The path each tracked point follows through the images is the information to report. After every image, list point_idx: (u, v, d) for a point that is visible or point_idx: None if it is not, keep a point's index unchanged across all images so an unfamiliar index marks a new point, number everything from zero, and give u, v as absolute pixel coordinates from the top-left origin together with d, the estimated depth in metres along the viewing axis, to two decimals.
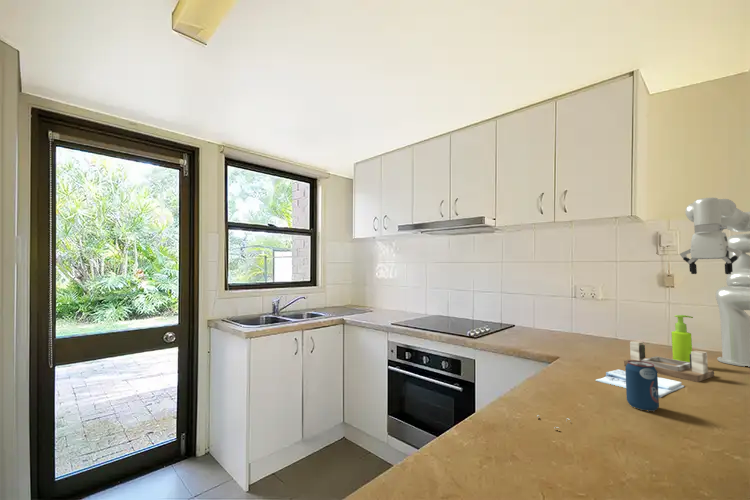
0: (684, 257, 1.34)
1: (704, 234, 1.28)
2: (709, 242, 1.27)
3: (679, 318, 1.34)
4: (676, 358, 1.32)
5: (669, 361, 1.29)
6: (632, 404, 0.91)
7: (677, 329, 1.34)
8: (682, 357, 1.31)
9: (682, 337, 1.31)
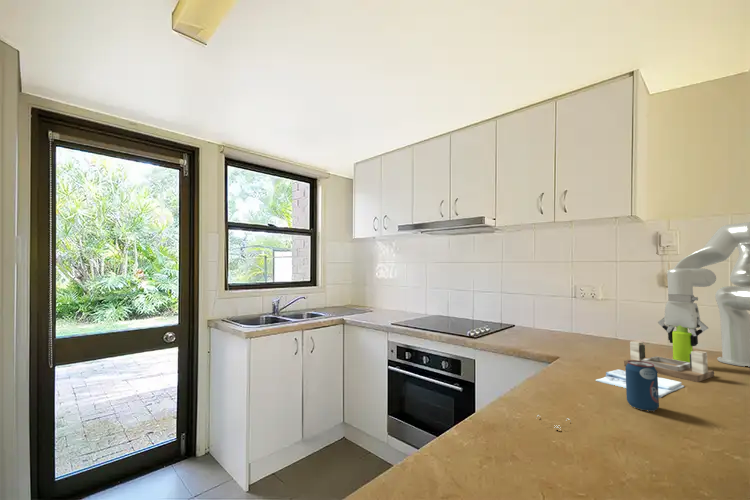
0: (663, 325, 1.38)
1: (677, 303, 1.33)
2: (681, 312, 1.32)
3: None
4: (677, 358, 1.32)
5: (669, 361, 1.29)
6: (632, 404, 0.91)
7: (678, 329, 1.33)
8: (682, 357, 1.31)
9: (682, 337, 1.31)
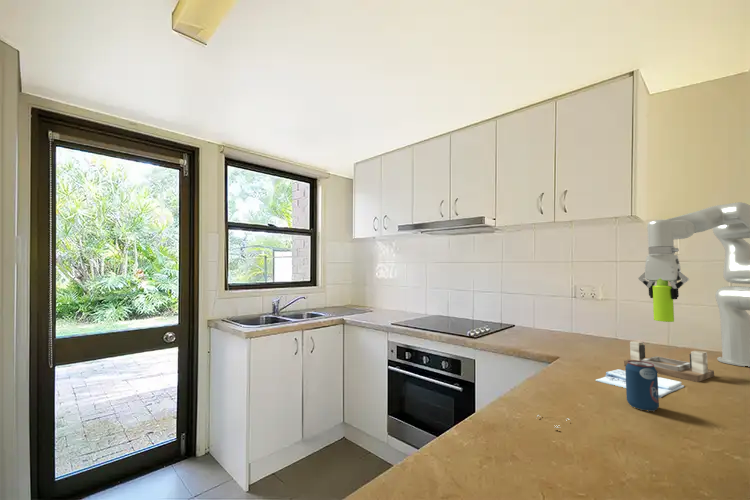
0: (644, 280, 1.33)
1: (657, 256, 1.28)
2: (661, 265, 1.27)
3: None
4: (657, 312, 1.26)
5: (669, 361, 1.29)
6: (632, 404, 0.91)
7: (658, 283, 1.27)
8: (662, 312, 1.25)
9: (663, 291, 1.25)
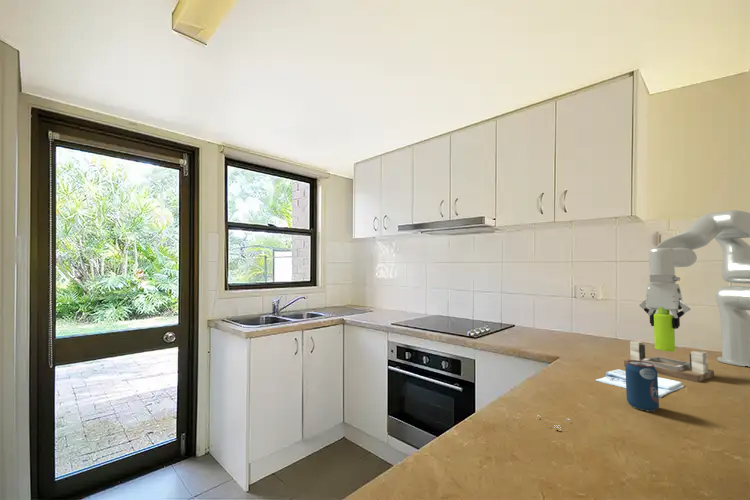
0: (645, 308, 1.32)
1: (658, 284, 1.27)
2: (662, 293, 1.26)
3: None
4: (658, 341, 1.26)
5: (669, 361, 1.29)
6: (632, 404, 0.91)
7: (659, 311, 1.27)
8: (663, 341, 1.24)
9: (664, 320, 1.25)
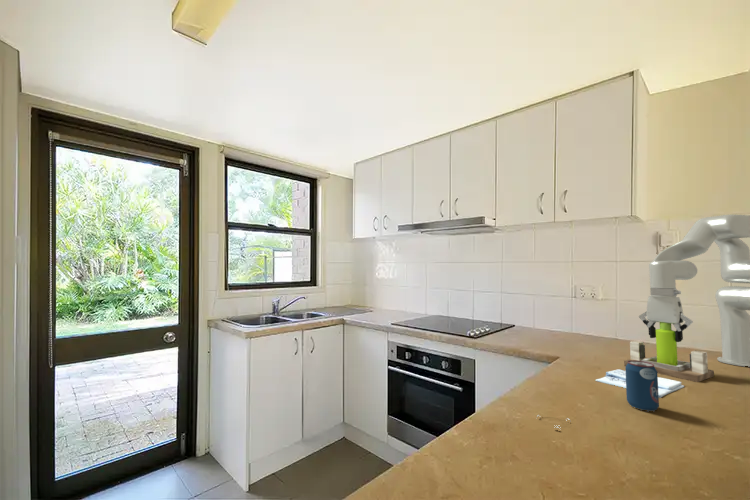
0: (644, 320, 1.32)
1: (659, 297, 1.27)
2: (663, 307, 1.26)
3: None
4: (660, 357, 1.25)
5: None
6: (632, 404, 0.91)
7: (661, 327, 1.26)
8: (666, 357, 1.24)
9: (666, 336, 1.24)
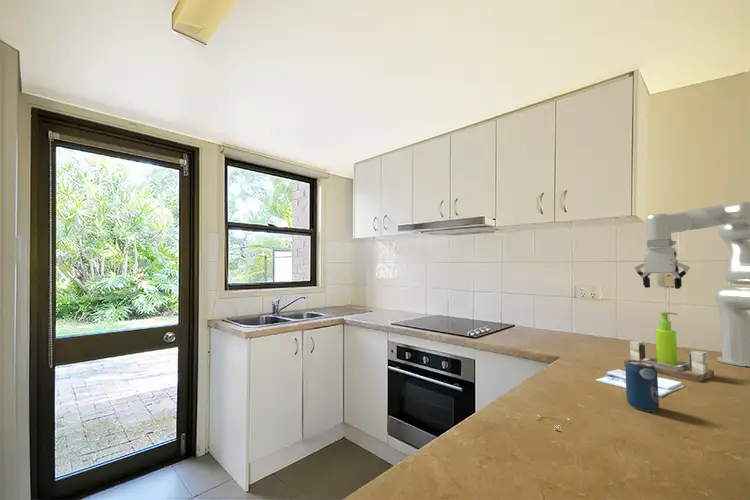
0: (638, 271, 1.38)
1: (655, 249, 1.31)
2: (659, 257, 1.30)
3: (663, 315, 1.27)
4: (660, 357, 1.25)
5: None
6: (632, 404, 0.91)
7: (661, 327, 1.26)
8: (666, 357, 1.24)
9: (666, 336, 1.24)
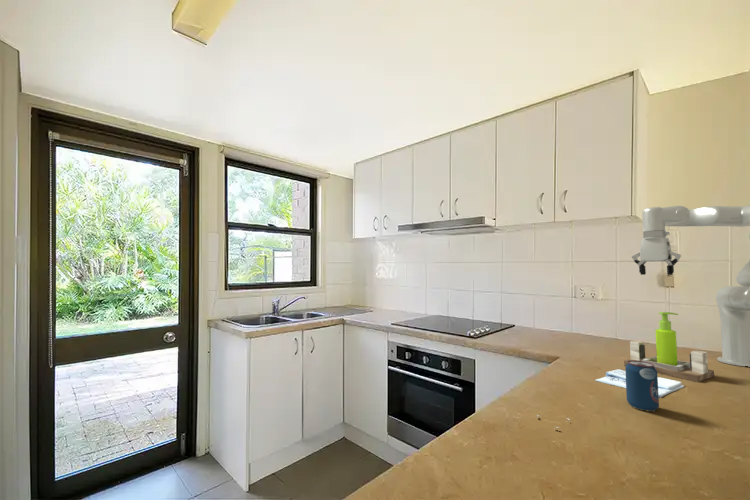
0: (635, 259, 1.51)
1: (650, 239, 1.45)
2: (654, 247, 1.44)
3: (663, 315, 1.26)
4: (660, 357, 1.25)
5: None
6: (632, 404, 0.91)
7: (661, 327, 1.26)
8: (666, 357, 1.24)
9: (666, 336, 1.24)
